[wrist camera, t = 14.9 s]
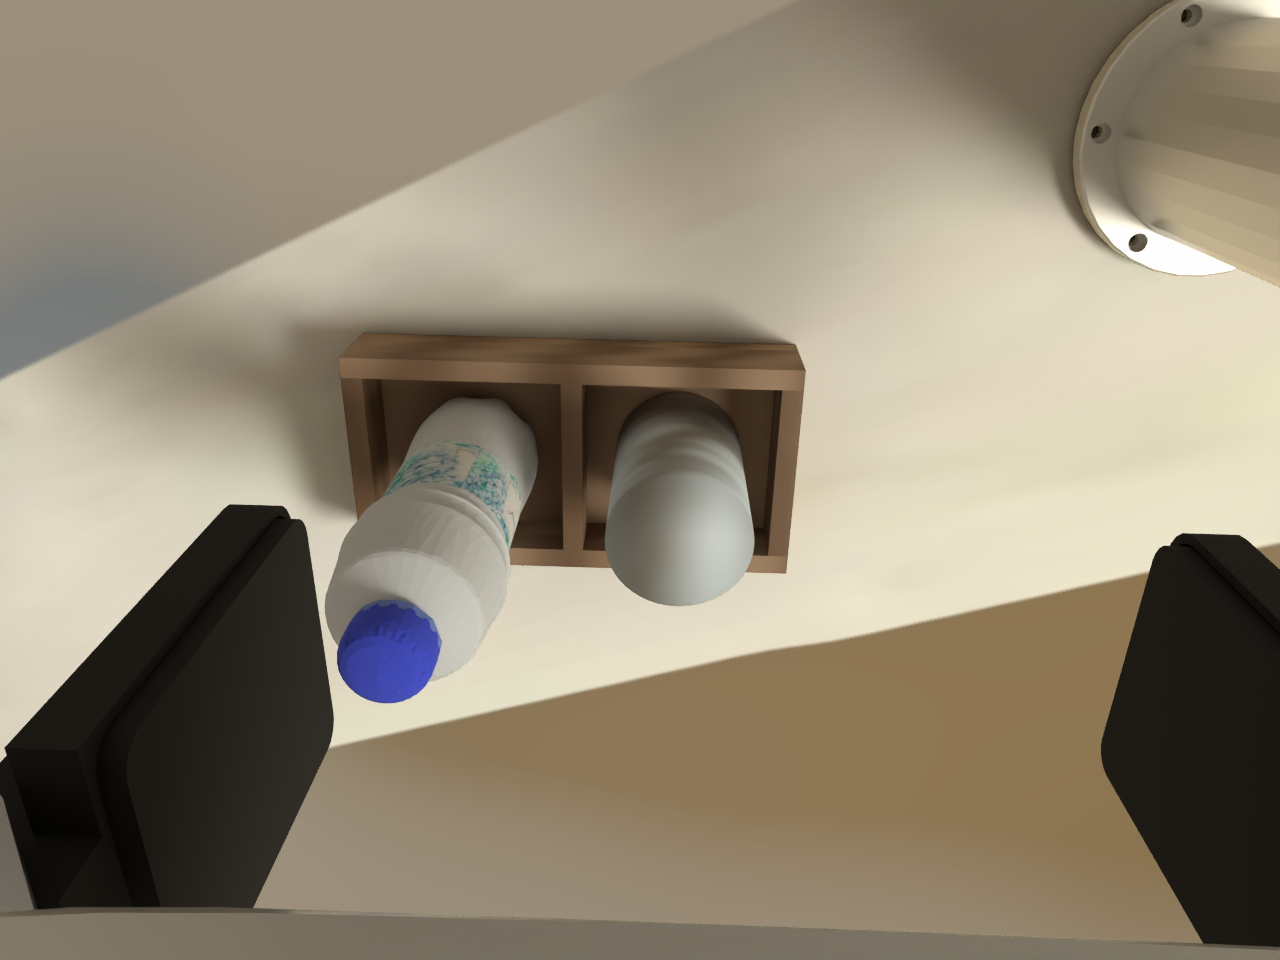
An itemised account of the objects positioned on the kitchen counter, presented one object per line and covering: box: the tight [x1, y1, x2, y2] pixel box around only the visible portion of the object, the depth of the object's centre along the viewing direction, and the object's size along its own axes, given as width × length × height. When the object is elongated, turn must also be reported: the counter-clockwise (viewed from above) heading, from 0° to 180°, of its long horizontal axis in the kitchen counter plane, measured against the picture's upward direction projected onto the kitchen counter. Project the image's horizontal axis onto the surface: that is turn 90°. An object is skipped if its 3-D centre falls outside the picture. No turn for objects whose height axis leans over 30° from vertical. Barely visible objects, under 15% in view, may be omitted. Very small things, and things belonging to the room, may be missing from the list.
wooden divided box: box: [338, 333, 806, 606], centre depth 47 cm, size 22×11×11 cm, turn 89°
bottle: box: [325, 396, 538, 703], centre depth 42 cm, size 7×7×20 cm
